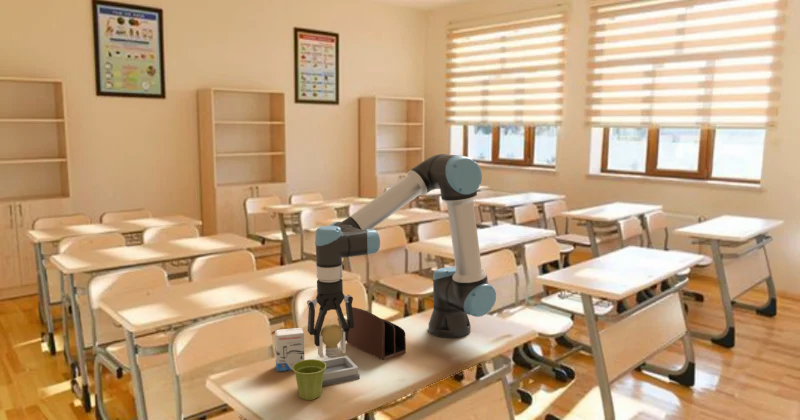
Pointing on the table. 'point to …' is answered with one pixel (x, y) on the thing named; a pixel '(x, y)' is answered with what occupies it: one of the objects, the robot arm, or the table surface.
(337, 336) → the light bulb
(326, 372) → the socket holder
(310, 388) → the plant pot
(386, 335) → the letter holder
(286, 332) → the ink box
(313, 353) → the table surface
